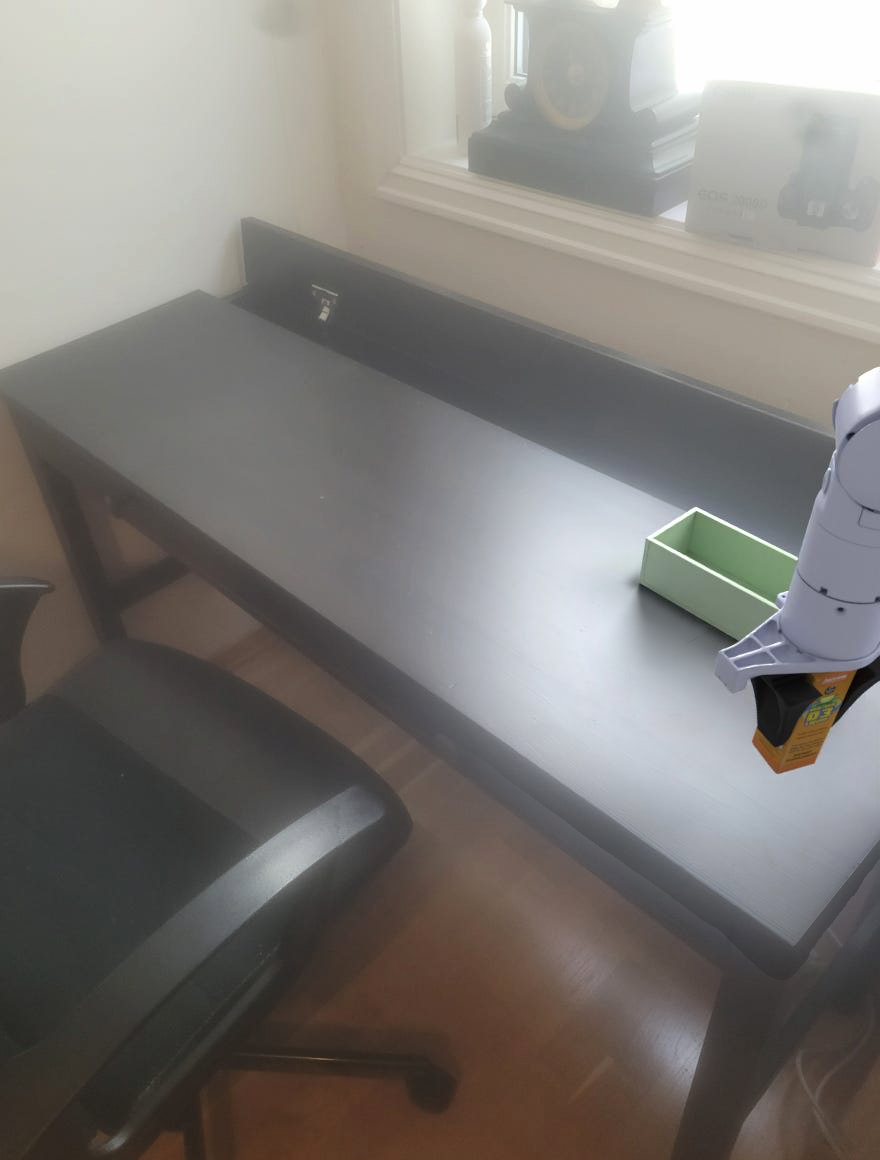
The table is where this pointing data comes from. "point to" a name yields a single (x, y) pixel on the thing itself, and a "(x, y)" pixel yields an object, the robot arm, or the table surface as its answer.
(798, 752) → the supplement box
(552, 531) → the table surface
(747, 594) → the storage bin
